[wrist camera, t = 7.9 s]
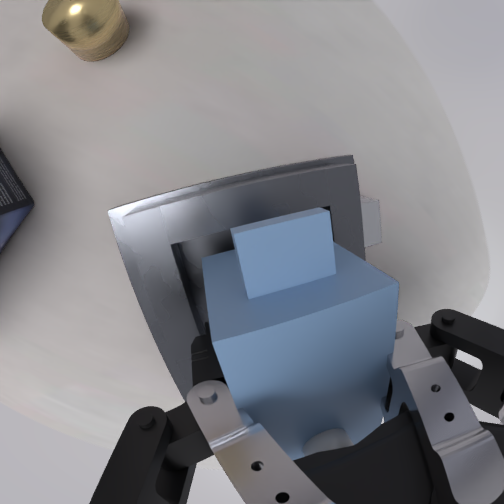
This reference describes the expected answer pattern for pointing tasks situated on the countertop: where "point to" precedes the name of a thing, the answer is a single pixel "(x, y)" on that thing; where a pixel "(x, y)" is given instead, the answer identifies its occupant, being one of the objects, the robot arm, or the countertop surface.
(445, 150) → the countertop surface
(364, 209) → the frame
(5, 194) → the small box
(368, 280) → the servo
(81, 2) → the cylinder
